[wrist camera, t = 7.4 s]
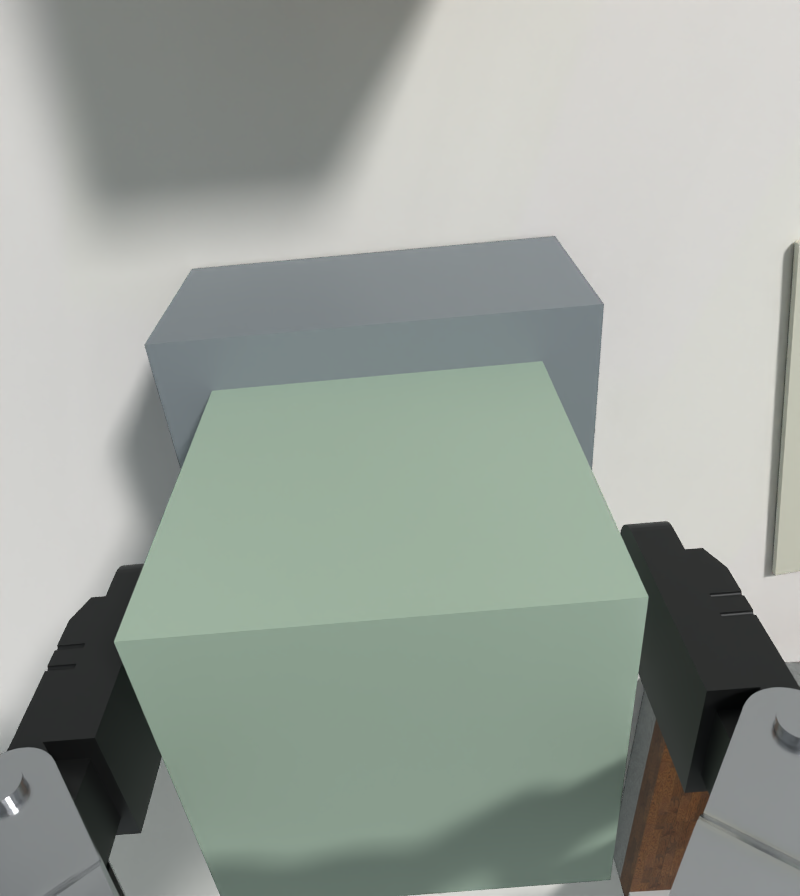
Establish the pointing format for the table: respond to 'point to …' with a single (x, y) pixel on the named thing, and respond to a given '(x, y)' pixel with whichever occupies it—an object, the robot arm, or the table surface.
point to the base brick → (380, 324)
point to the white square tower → (655, 811)
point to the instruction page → (790, 445)
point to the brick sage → (390, 638)
